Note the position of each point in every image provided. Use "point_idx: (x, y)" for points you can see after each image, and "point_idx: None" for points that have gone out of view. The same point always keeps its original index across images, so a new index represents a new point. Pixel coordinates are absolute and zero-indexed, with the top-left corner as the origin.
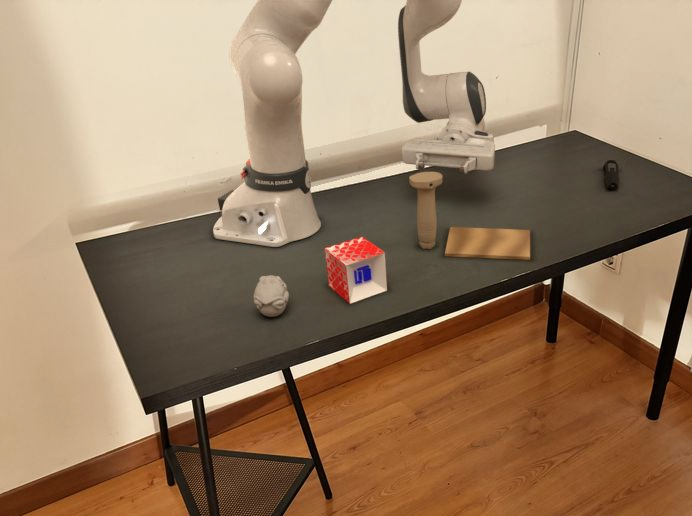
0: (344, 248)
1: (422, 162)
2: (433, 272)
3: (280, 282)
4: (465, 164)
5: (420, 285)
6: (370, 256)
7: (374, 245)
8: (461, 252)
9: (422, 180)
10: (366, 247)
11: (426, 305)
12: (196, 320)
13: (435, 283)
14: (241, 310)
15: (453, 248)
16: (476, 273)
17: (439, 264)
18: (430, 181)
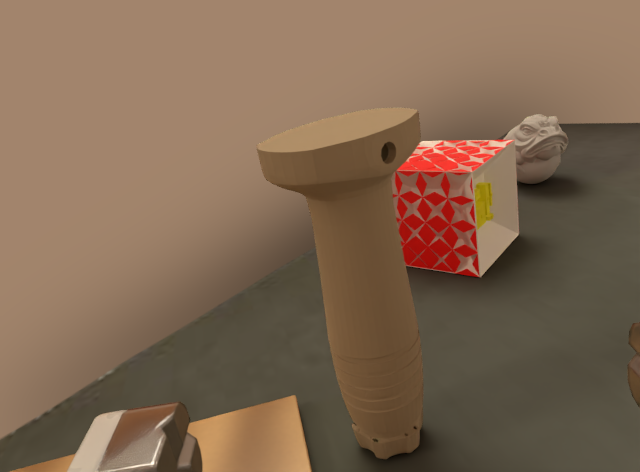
0: (472, 151)
1: (637, 323)
2: (308, 336)
3: (518, 129)
4: (108, 425)
5: (321, 295)
6: None
7: (413, 170)
8: (235, 416)
9: (340, 119)
10: (426, 164)
11: (286, 265)
12: (626, 150)
13: (288, 310)
14: (592, 171)
15: (270, 428)
16: (182, 372)
17: (303, 368)
18: (301, 126)
